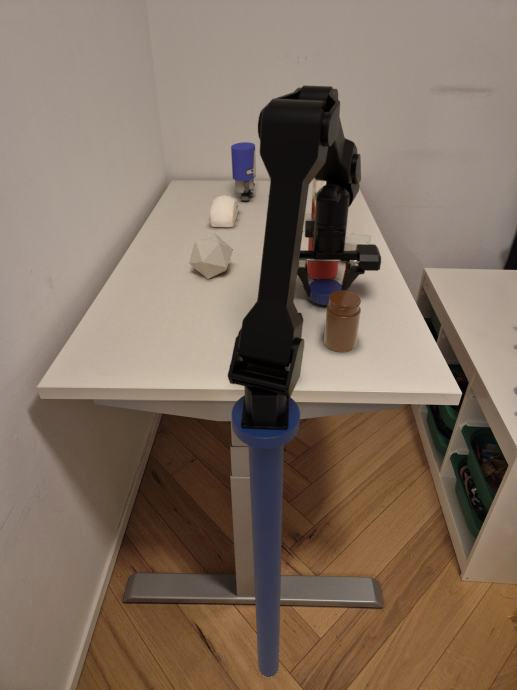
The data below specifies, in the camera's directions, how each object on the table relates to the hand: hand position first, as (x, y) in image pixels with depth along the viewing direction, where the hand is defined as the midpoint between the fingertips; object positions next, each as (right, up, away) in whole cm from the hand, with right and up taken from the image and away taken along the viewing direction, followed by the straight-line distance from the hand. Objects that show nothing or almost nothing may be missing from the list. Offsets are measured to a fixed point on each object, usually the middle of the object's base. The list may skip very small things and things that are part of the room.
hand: (324, 296), depth 92 cm
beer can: (+1, +6, +10) cm, 11 cm away
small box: (+9, +10, +15) cm, 21 cm away
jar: (+1, -9, -11) cm, 14 cm away
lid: (0, +2, -1) cm, 2 cm away
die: (-23, +6, +11) cm, 26 cm away
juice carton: (+4, +17, +25) cm, 30 cm away
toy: (-17, +35, +49) cm, 63 cm away
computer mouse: (-22, +25, +36) cm, 49 cm away
